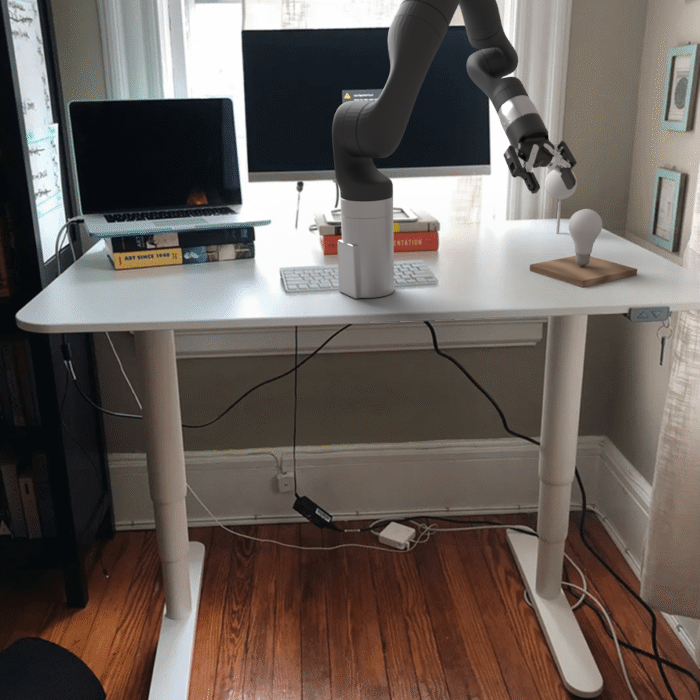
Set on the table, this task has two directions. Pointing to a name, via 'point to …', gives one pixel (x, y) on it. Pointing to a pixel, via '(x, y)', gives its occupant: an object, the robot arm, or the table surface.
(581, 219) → the lightbulb
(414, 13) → the robot arm
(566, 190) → the lollipop
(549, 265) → the walnut board
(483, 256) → the table surface
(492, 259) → the table surface
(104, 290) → the table surface
